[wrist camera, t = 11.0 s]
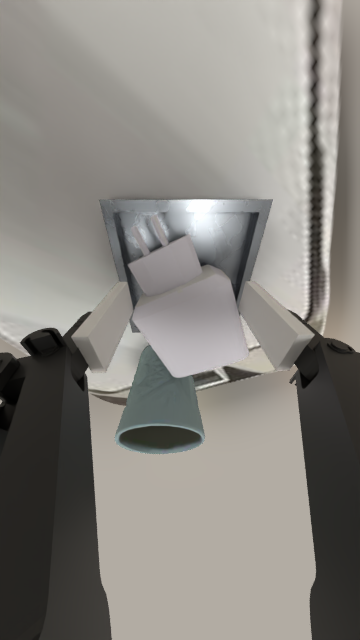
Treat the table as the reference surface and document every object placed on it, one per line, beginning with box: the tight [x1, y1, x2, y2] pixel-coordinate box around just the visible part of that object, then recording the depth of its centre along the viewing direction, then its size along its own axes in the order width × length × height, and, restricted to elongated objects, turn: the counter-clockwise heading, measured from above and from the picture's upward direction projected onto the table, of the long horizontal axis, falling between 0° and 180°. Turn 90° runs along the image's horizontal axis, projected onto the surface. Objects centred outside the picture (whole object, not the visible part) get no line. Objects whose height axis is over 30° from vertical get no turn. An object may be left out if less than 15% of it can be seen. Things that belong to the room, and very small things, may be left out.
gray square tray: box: [99, 200, 273, 332], centre depth 17 cm, size 14×14×2 cm
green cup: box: [115, 345, 205, 454], centre depth 22 cm, size 10×10×12 cm
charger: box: [128, 215, 249, 378], centre depth 15 cm, size 5×9×15 cm
